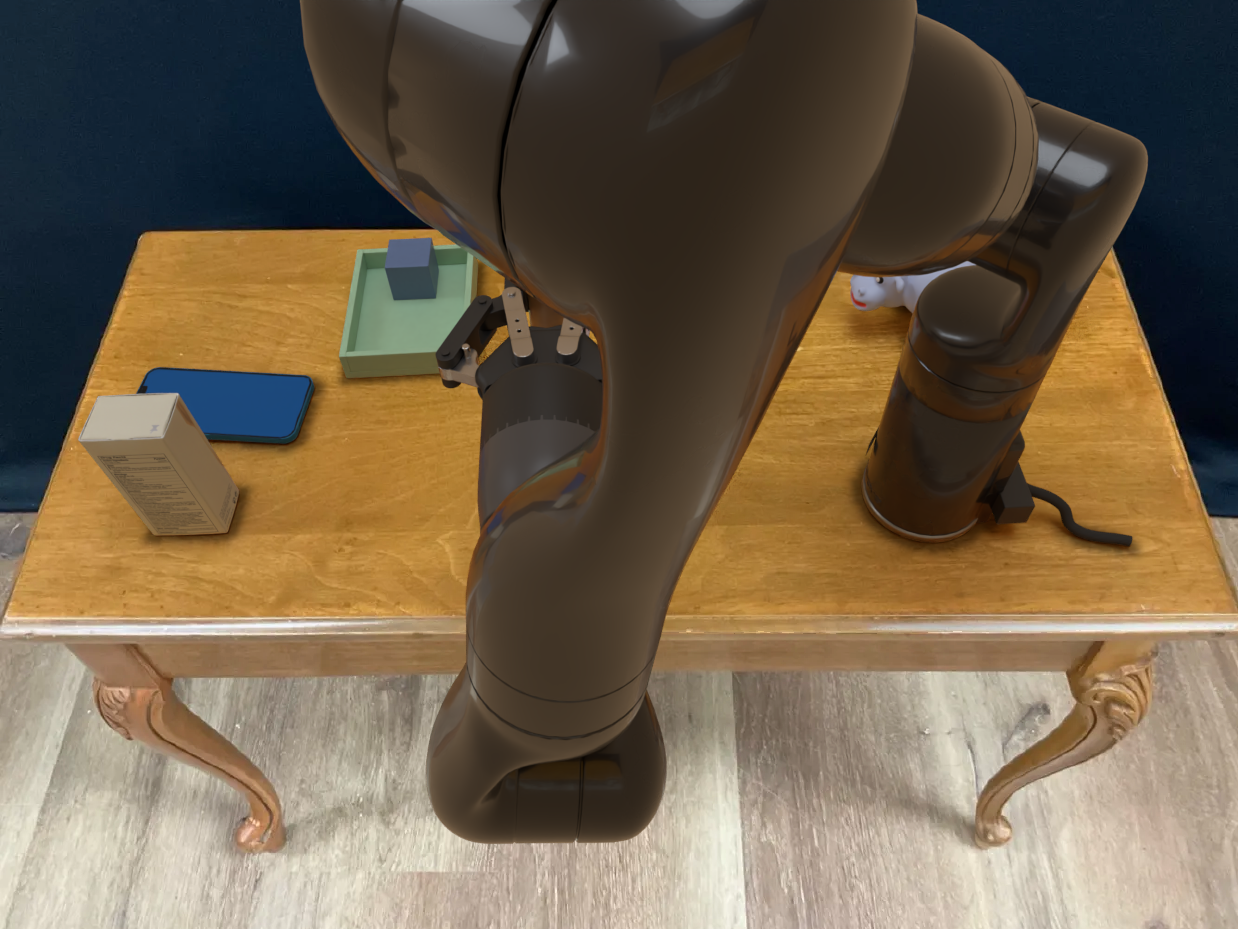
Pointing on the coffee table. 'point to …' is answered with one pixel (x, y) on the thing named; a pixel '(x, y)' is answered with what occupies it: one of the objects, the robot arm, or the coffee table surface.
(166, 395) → the cosmetic box
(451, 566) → the coffee table surface
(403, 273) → the block
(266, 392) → the smartphone
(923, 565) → the coffee table surface
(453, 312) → the tray
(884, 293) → the hippopotamus toy
